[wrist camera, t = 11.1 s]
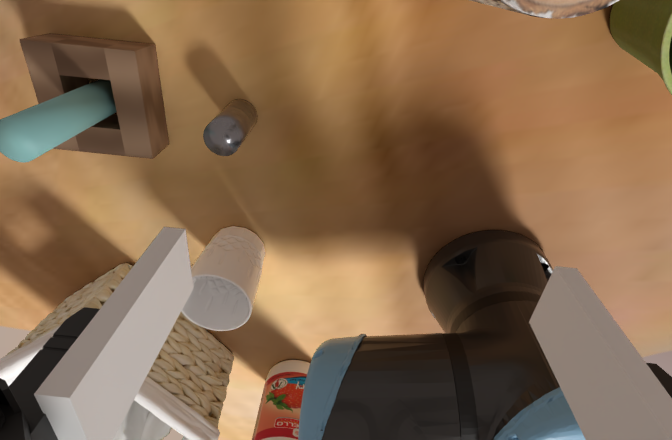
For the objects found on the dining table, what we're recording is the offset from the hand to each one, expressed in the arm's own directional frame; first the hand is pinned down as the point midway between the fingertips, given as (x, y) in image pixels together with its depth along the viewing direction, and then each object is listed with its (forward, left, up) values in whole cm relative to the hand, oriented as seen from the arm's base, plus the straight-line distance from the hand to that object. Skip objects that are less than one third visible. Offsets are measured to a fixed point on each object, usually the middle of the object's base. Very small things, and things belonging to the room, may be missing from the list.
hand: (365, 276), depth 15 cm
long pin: (-3, +25, -29) cm, 38 cm away
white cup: (-21, +13, -29) cm, 38 cm away
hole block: (-3, +25, -29) cm, 38 cm away
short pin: (-4, +12, -29) cm, 31 cm away
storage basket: (-37, +26, -29) cm, 54 cm away
